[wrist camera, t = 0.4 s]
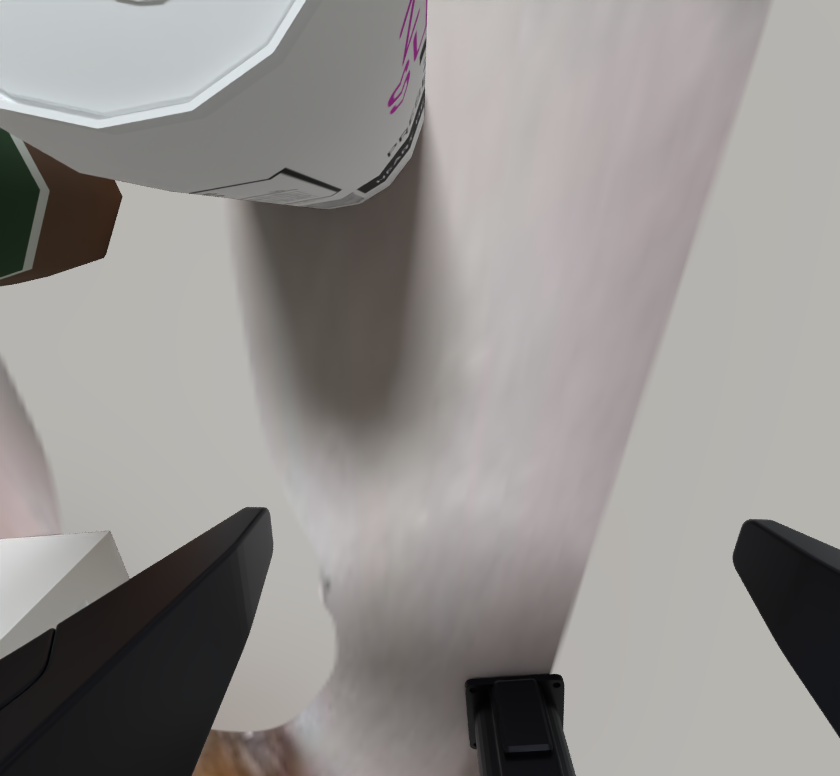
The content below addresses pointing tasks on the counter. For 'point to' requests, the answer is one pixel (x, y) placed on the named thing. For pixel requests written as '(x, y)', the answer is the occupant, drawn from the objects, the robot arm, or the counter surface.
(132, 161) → the supplement can
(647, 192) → the counter surface
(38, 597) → the white stepped block
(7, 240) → the beer bottle
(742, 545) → the robot arm
